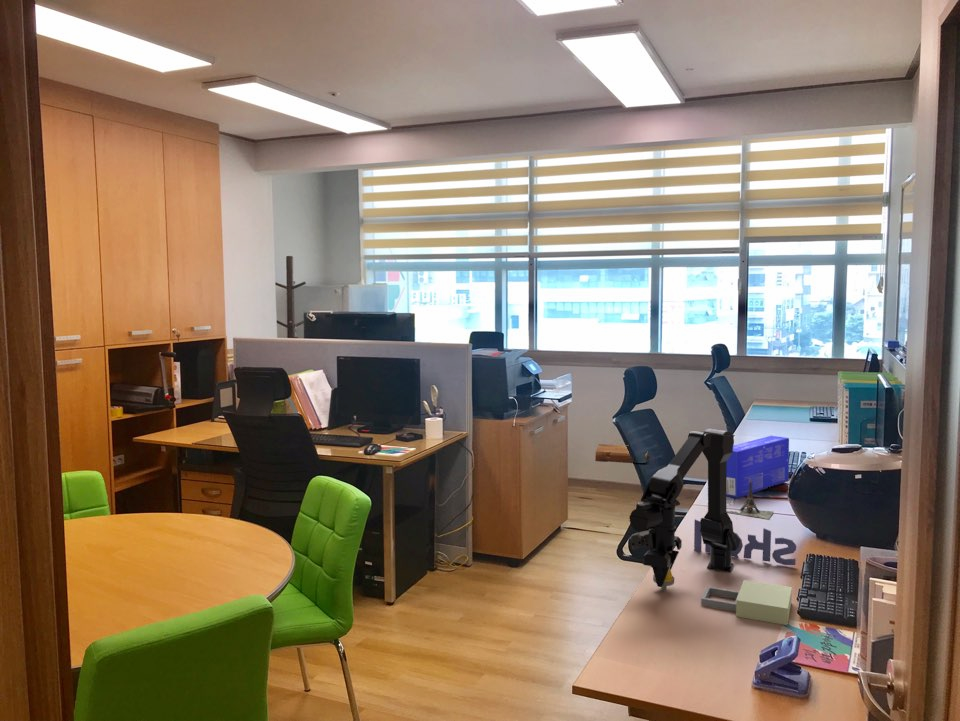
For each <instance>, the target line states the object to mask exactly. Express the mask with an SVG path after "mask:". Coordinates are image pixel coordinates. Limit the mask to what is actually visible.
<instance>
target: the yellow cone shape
mask: <svg viewBox="0 0 960 721" xmlns="http://www.w3.org/2000/svg"><path fill="white" fill-rule="evenodd" d="M652 582H654V583H655V584H657V583H656V579H655V575H654V574H653V578H652ZM674 584H675V577H674V576H673V574H672V569H671V570H670V568H669V571H668V573H667V576H666V578H665V581H664V583H663V585H662V587H660V589H661V590H662V591H666V590H667V587H671V586H673V585H674Z"/></svg>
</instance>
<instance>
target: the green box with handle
mask: <svg viewBox="0 0 960 721" xmlns="http://www.w3.org/2000/svg"><path fill="white" fill-rule="evenodd" d="M704 590H705V591H704V592H703V595H702V596H701V599H700V605H701V606H703V607H708V608H713V609H719V610H725V611H729V612H735V617H738V618H742V619H743V618H745V619H750V620H754V621H755V620H757V621H761V622H766V623H773V624H779V625H784V626H788V624H789V618H790V612H791V607H792V601H793V600H792V598H793V597H792V596H793V595H792V594H793V593H792V592H793V587H791V586H785V585H780V584H772V583H766V582H759V581H753V580H746V579H743V582H742V584H741V585H740V590H738V591H737V590H732V589H731V590H730V589H725V588H718V587H713V586H706V588H705V589H704ZM710 596H715V597H721V598H727V599H733V600H735V601H734V602H731V601H727V600H726V601H725V600H719V599H713V598H710Z"/></svg>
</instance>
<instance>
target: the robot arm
mask: <svg viewBox="0 0 960 721" xmlns="http://www.w3.org/2000/svg"><path fill="white" fill-rule="evenodd" d="M734 438H735V437H734V435H733V434H732V433H731V432H730V431H729V430H722V429H715V428H711V427H710V428H706V429H705V430H704V431H701V430H700V431H699V430H691V431H690V432H689V433H688V435H687V438H686V440H685V441H684V443H683V444H682V446H681V447H680V448H679V450H678V451H677V453H676V454H675V455H674V456H673V458H672V459H671V460H670V462H669V463H668V464H667V465H666V466H665V467H662V468H660V469H658V470H657V471H656V472H655V473H654V474H653V475H652V476H651V477H650V479H649V480H648V483H647V485H646V488H644V489H645V490H644V491H643V494H642V496H641V498H640V503H636V507H635V508H634V509H633V510H632V511H631V512H630V514H629V523H630V525H631V527H632V529H634V531H636V532H635V533H632V534H631V536H630V537H629V539H628V540H629V542H628V545H629V546H631V549H632V550H633V551H635V550H638V549H641V548H645V547H648V548H647V549H649V550H647V551H646V552H645V554H644V555H643V556H642V565H643V566H646V567H647V566H648V567H651V568H652V571H653V575H655V579H656V583H655V584H656V586H657V587H658V588H661V587H662V585H663V583H664V581H665V578H666V576H667V573H668V571H669V568H670V570H671V571H672V568H673V566H674V564H675V561H676V560H677V557H678V555H679V554H680V552H679V551H680V550H681V548H682V542H683V540H682V539H681V537H679V536H676V535H675V534H676V532H677V526H676V524H675V523H676V507H677V506H680V505H681V503H680V501H679V500H677V499H678V497H679V496H680V493H681V492H682V490H683V488H684V478H685V477H686V475H687V473H688V472H689V470H690V469H691V468H692V467H693V465H694V464H695V463H696V461H697V460H698V458H699V456H700V455H701V454H703V455H704V457H705V459H706V460H707V512H706V514H705V515H704V516H703V517H701V518H700V520H699V521H700V523H701V529H700V532H701V535H702V543H703V545H705V544H707V545H710V553H709V562H708V565H707V566H706V569H707V570H712V571H720V572H727V573H732V571H733V568H734V566H735V565H734V563H733V562H732V556H731V551H736V550H737V548H739V544H740V540H739V539H738V537H737V536H736V534H735V533H736V532H735V531H734V525H733V521H732V519H731V517H730V516H729V513H727V511H728V510H727V496H726V484H727V460H728V458H729V457H730V455H731V454H732V452H733V445H735V444H734V443H735V439H734ZM675 548H676V550H674V549H675Z"/></svg>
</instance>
